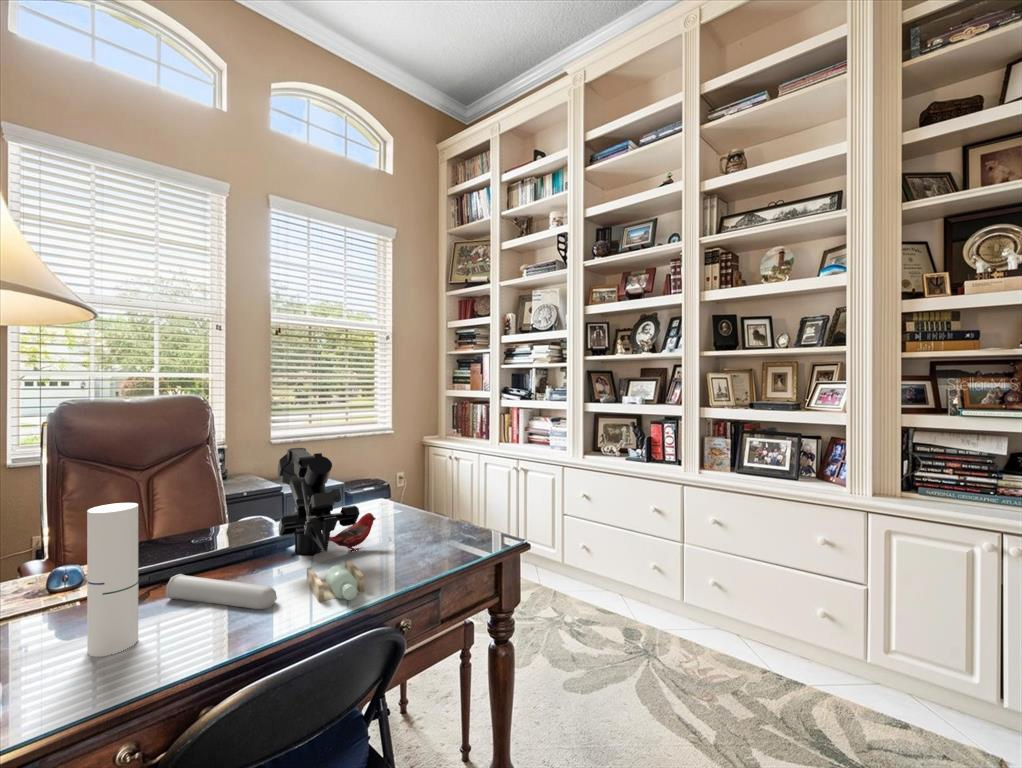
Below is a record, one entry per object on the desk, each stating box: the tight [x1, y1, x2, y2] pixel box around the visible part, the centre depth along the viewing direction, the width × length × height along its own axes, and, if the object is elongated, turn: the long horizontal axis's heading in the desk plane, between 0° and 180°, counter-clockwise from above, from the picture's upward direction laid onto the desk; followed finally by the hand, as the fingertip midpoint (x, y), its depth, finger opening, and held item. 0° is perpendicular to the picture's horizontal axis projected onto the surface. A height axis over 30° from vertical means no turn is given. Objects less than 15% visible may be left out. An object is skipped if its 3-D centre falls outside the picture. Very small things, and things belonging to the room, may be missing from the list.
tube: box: [165, 573, 278, 611], centre depth 106 cm, size 5×5×25 cm
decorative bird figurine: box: [329, 512, 377, 553], centre depth 137 cm, size 3×18×10 cm, turn 138°
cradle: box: [306, 559, 365, 603], centre depth 113 cm, size 12×10×4 cm
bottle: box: [324, 564, 358, 601], centre depth 109 cm, size 5×5×11 cm
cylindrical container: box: [86, 502, 139, 658], centre depth 89 cm, size 7×7×25 cm
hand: (325, 550), depth 120 cm, fingers closed
